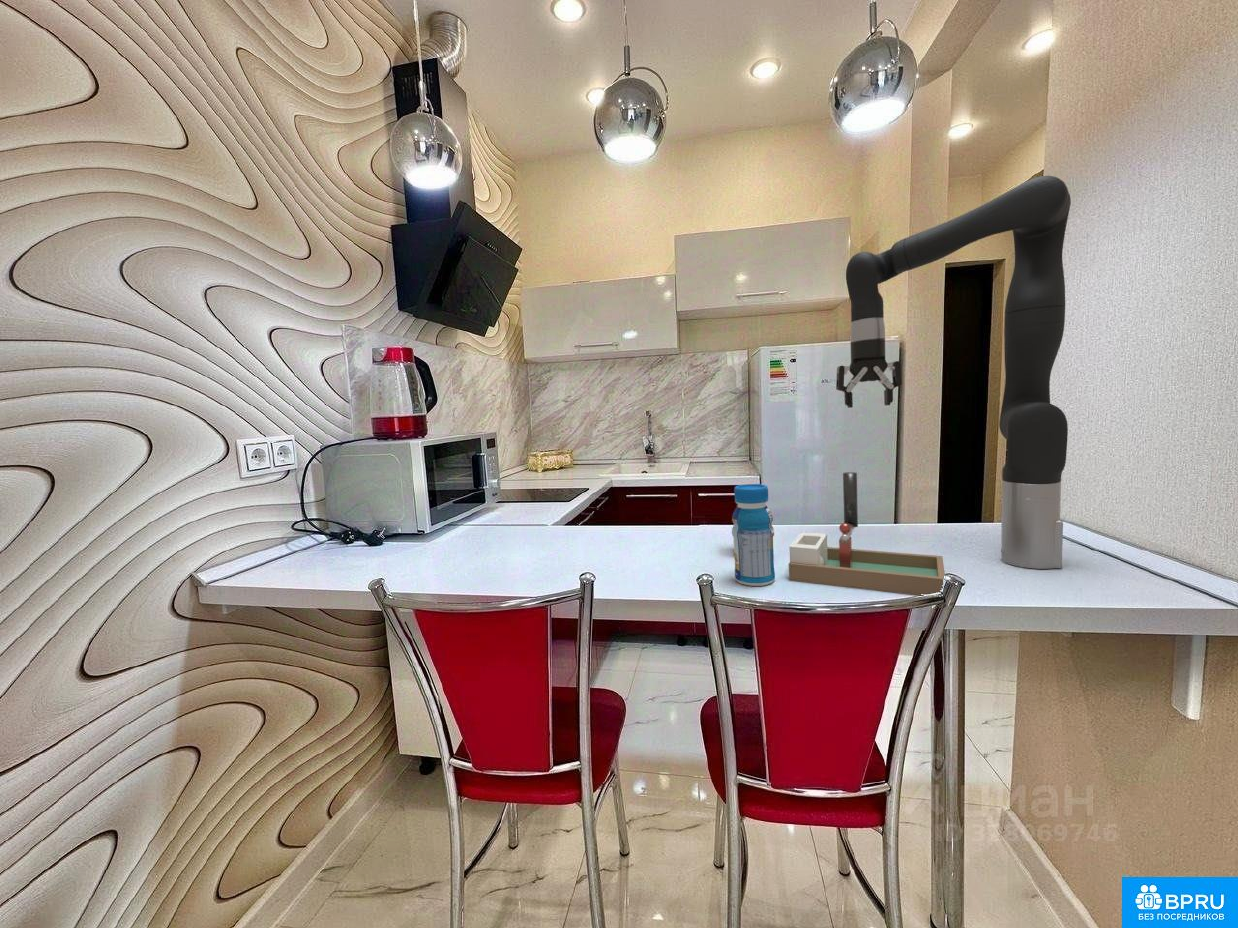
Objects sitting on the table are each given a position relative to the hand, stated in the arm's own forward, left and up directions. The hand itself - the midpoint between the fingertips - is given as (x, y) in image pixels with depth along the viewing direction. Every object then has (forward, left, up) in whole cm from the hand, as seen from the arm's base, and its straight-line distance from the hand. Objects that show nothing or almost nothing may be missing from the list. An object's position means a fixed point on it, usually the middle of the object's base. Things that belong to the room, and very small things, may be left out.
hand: (868, 406), depth 121 cm
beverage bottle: (+19, +37, -34) cm, 54 cm away
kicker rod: (+3, +23, -33) cm, 40 cm away
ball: (+9, +28, -32) cm, 43 cm away
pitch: (-1, +28, -34) cm, 44 cm away
